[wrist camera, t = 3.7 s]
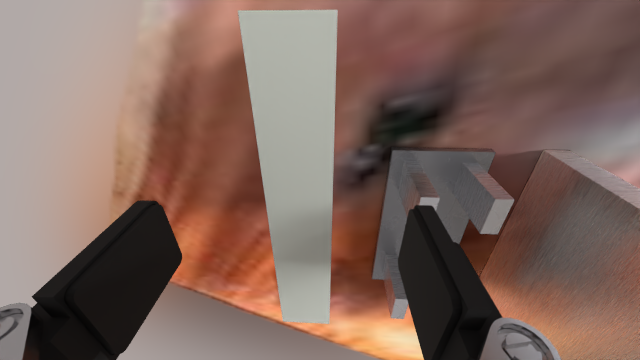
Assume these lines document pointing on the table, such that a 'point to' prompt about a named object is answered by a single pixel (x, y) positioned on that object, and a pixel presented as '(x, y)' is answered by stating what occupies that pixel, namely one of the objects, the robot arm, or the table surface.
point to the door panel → (295, 147)
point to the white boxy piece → (530, 243)
